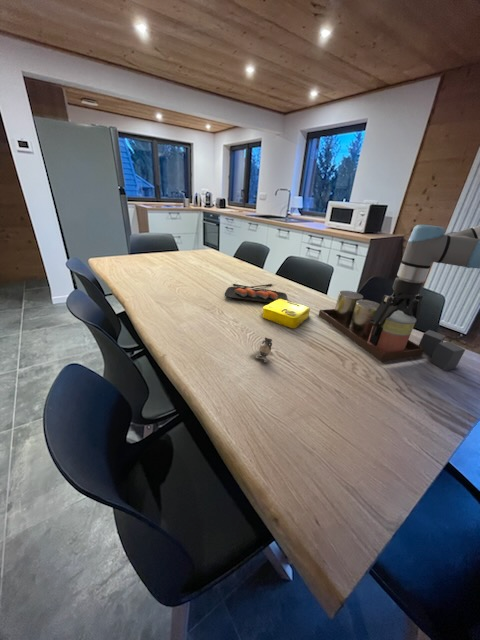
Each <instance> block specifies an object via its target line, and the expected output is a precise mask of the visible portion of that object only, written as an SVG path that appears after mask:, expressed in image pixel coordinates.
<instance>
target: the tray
mask: <svg viewBox="0 0 480 640" xmlns="http://www.w3.org/2000/svg"><path fill="white" fill-rule="evenodd" d="M334 311H335V308H327V309H319V311H318V316H319V317H320V318H322V319H323V320H324V321H326V322H327V323H328V324H329V325H331V326H332V327H333V328H335V329H336V330H337V331H339V332H340V333H342V335H344V337H347V338H348V339H349V340H351V341H352V342H353V343H355V344H356V345H357V346H359V348H361V349H363V350H364V351H366V352H367V353H368V354H370V355H371V356H372V357H373V358H375V359H376V360H377V361H379V362H380V363H383V362H384V363H385V362H390V361H396V360H403V359H410V358H417V357H422V356H423V354H424V352H423V351H424V349H423V348H422V347H420V346H419V344H417V343H415V342H413V341H411V339H408V342H407V344H406V347H405V349H404V351H400V352H393V353H386V354H383V353H382V352H380V351H379V350H377V349H376V348H374V347H373V346H372V345H370V344H369V343H367V341H368V339H369V337H363V336H359V335H356V334H355V333H353V332H352V331H350V330H349V325H348V324H342V323H339V322H338V321H336V320H335V319H333V314H334Z"/></svg>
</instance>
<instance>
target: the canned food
mask: <svg viewBox="0 0 480 640" xmlns="http://www.w3.org/2000/svg"><path fill="white" fill-rule="evenodd" d="M416 321H417V320H416V318H415V317H414V316H409V315H407V314H405V313H403V310H401V309H398V310H397V311H395V312H394V313H393V314H392V315H391V316H390V317H389V318H386V321H385V323H384V324H383V325H382V326H381V327H382V328H383V329H382V332H381V335H380V338H379V341H378V343H377V345H376V346H375V345H373V344H372V343H371V342H369V340H370V337H371V333H370V336H369V339H368V341H367V343H369V344H370V345H372V346H373V347H374V348H376V349H377V350H379V351H380V352H382V353H383V354H386V353H393V352H400V351H404V349H405V347H406V344H407V342H408V340H410V336H411V334H412V332H413V329H414V327H415V326H416V324H415V323H417V322H416ZM379 323H380V322H379ZM372 329H373V327H372ZM371 332H372V330H371Z"/></svg>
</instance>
